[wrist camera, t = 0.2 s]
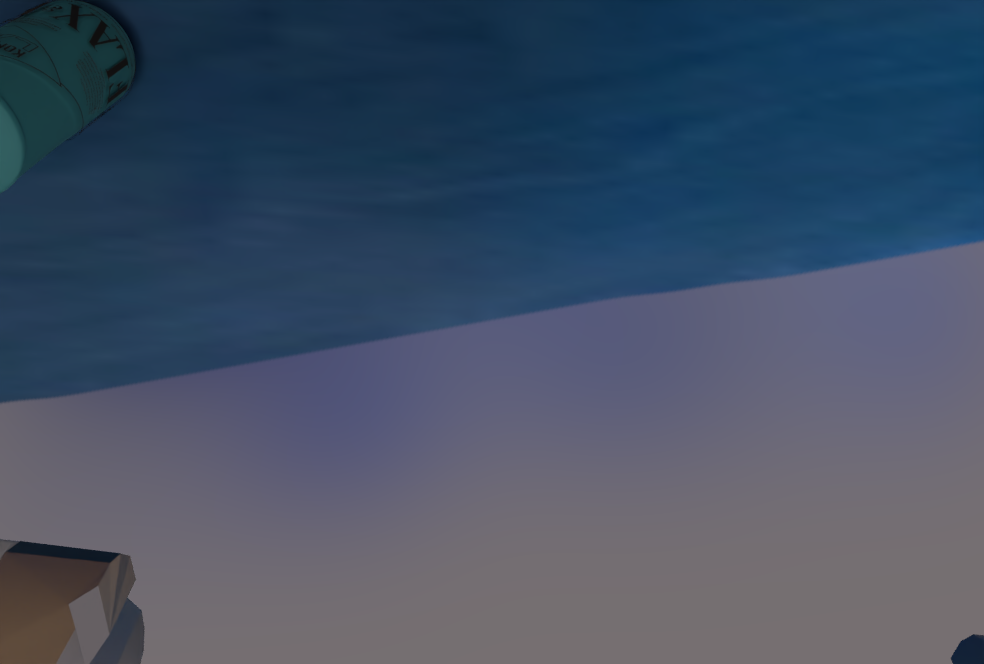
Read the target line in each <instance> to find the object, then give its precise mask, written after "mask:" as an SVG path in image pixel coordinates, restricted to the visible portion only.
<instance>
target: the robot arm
mask: <svg viewBox="0 0 984 664" xmlns="http://www.w3.org/2000/svg"><path fill="white" fill-rule="evenodd" d="M135 580H136V578H135V574H134V570H133V565H132V561H131V557H130V556H128V555H124V554H120V553H112V552H104V551H96V550H88V549H80V548H72V547H63V546H55V545H47V544H39V543H31V542H23V541H20V542H19V541H10V540H1V539H0V664H140V663H141V659H142V655H143V651H144V622H143V616H142V611H141V610H140V609H139V608H138V607H137V606H136V605H135V604H134V603H133V602H132V601H130V600H129V599H128V598H127V597H128V595H129V593H130V591H131V589H132V587H133V585H134V582H135ZM951 660H952V663H953V664H984V635H975V634H973V635H971V636H969V637H968V638H966V639H964V640H962V641H961V642H960V643H959V645H958V647H957V648H956V650H955V652H954V653H953V655H952V657H951Z"/></svg>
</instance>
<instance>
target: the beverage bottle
mask: <svg viewBox="0 0 984 664" xmlns="http://www.w3.org/2000/svg"><path fill="white" fill-rule="evenodd" d="M52 1H53V0H52ZM47 3H49V4H47ZM47 3H44V2H43V4H41V5H39V6H37V7H36V6H35V7H34V8H33V9H32V8H31V9H29V10H27V12H26V11H25V13H23V14H21V16H20V18H19V17H18V18H15V20H13V21H12V19H11V18H10V21H11V22H8V24H6V25H4V26H2V27H0V193H2V192H3V191H5V190H7V189H8V188H9V187H10V186H11V185H13V184H14V183H15V181H16V180H17V179H18V178H19V177H20V176H21V175H22V174H24V173H25V172H26V171H27V170H29V169H30V168H31V167H32V166H34V165H35V164H36V163H37V162H39V161H40V160H41V159H42V158H44V157H45V156H46V155H47V154H49V153H50V152H51V151H52V150H54V149H55V148H56V147H57V146H59V145H60V144H61V143H62V142H64V141H65V140H67V139H69V138H70V137H71V136H73V135H74V134H75V133H77V132H78V131H79V130H80V129H82V128H83V127H84V126H85V125H87V124H88V123H89V122H90V121H92V120H93V119H94V118H96V117H97V118H96V119H97V120H98V115H99V114H102V113H103V111H104V110H106V109H107V108H108V107H110V106H111V105H112V104H113V103H115V102H116V101H117V100H118V99H120V98H121V97H122V96H123V95H124V94H125V93H126V91H127V90H129V88H130V85H131V82H132V79H133V76H134V72H135V55H134V51H133V47H132V45H131V42H130V40H129V38H128V36H127V34H126V33H125V31H124V30H123V28H122V27H121V26H120V25H119V23H118V22H117V21H116V20H115V19H114V18H113V17H111V16H110V15H109V14H108V13H106V12H105V11H103V10H102V9H100V8H98V7H96V6H94V5H92V4H89V3H86V2H84V1H80V0H79V1H75V0H59V1H54V2H51V3H50V2H47ZM45 4H47V5H45ZM43 5H45V6H43ZM41 6H43V7H41ZM39 7H41V8H39ZM37 8H38V9H37ZM35 9H36V10H35ZM33 10H34V11H33ZM31 11H32V12H31ZM29 12H30V13H29ZM27 13H28V14H27ZM24 14H26V15H24ZM23 15H24V16H23ZM18 16H19V15H18ZM8 20H9V19H8ZM5 22H6V21H5ZM0 24H1V23H0ZM134 78H135V76H134ZM133 82H134V81H133ZM132 85H133V84H132ZM128 93H129V92H128ZM125 97H126V96H125ZM122 99H123V98H122ZM120 102H121V101H120ZM117 103H118V102H117ZM112 107H113V106H112ZM110 108H111V107H110ZM108 110H109V109H108ZM108 110H107V111H106V112H108ZM110 110H111V109H110ZM104 114H105V112H104ZM104 114H102V116H103V115H104ZM100 116H101V115H100ZM100 118H101V117H100ZM97 120H96V121H97ZM94 121H95V120H94ZM96 121H95V122H96ZM92 123H93V122H91V125H92ZM89 124H90V123H89ZM89 124H88V125H89ZM87 127H88V126H87ZM87 127H86V128H87ZM81 131H82V132H83V131H84V130H81ZM79 133H81V132H79ZM77 134H78V133H77ZM76 136H77V135H76ZM73 137H74V136H73ZM69 140H71V139H69Z"/></svg>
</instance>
